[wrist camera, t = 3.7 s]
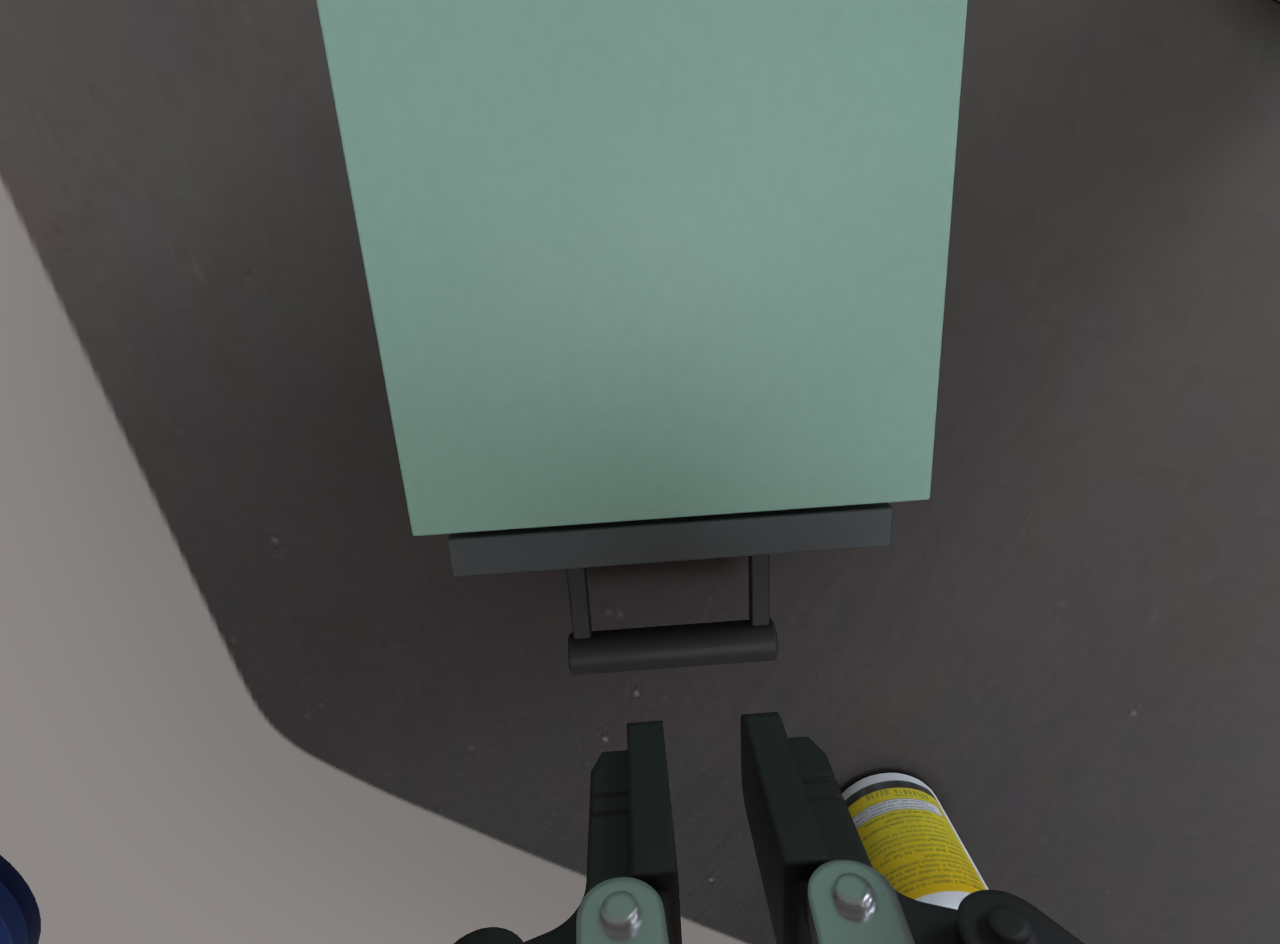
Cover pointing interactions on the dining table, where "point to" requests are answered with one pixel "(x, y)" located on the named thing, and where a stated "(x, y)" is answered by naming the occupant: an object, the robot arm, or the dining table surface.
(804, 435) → the green drawer cabinet
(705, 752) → the dining table surface
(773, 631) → the grey pull-out drawer
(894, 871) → the supplement bottle
